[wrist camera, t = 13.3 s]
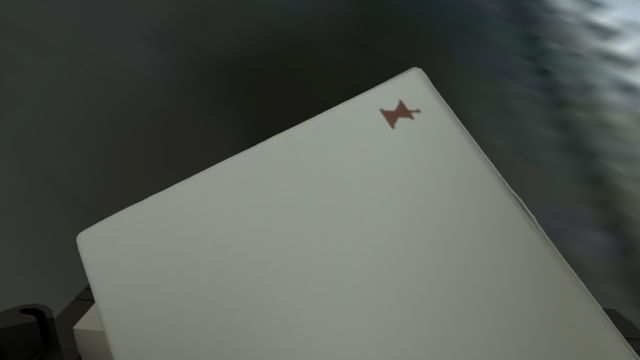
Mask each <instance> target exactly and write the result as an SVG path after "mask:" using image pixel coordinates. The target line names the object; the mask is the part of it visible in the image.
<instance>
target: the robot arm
mask: <svg viewBox="0 0 640 360" xmlns="http://www.w3.org/2000/svg"><path fill="white" fill-rule="evenodd" d="M602 309H603V311H604V312H605V313H606V315H607V316H608V317H609V319H610V320H611V321H612V323H613V324H614V325H615V327H616V328H617V329H618V331H619V332H620V333H621V335H622V336H623V337H624V339H625V340H626V341H627V342H628V344H629V345H630V346H631V347H632V349H633V350H634V351H635V352H636V354H637V355H638V356H639V357H640V331H639V330H638V328H637V327H636V326H635V325H634V323H632V322H631V321H630V320H628V319H627V318H625V317H624V316H623V315H621V314H620V313H619V312H617V311H616V310H615V309H606V308H602ZM0 360H113V358H112V354H111V351H110V348H109V345H108V342H107V339H106V335H105V332H104V329H103V326H102V323H101V320H100V316H99V313H98V310H97V306H96V303H95V300H94V296H93V293H92V290H91V287H90V283H89V284H88V285H87V286H86V287H85V290H82V291H81V292H80V293H79V294H78V295H77V296H76V298H75V301H72V302H71V303H70V304H69V305H68V306H67V307H66V308H65V309H64V310H63V311H62V312H61V313H60V314H59V315H58V316H57V317H56V318H55V319H54V317H53V313H52V310H51V309H49V308H48V307H47V306H45V305H38V304H29V305H20V306H17V307H14V308H10V309H7V310H5V311H3V312H1V313H0Z"/></svg>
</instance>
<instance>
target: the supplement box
mask: <svg viewBox="0 0 640 360" xmlns="http://www.w3.org/2000/svg"><path fill="white" fill-rule="evenodd" d="M76 241H77V245H78V249H79V252H80V255H81V259H82V262H83V265H84V268H85V271H86V274H87V277H88V280H89V283H90V287H91V290H92V293H93V296H94V300H95V303H96V306H97V310H98V313H99V316H100V320H101V323H102V326H103V329H104V332H105V335H106V339H107V342H108V345H109V348H110V351H111V354H112V358H113V360H640V357H639V356H638V355H637V354H636V352H635V351H634V350H633V349H632V347H631V346H630V345H629V344H628V342H627V341H626V340H625V339H624V337H623V336H622V335H621V333H620V332H619V331H618V329H617V328H616V327H615V325H614V324H613V323H612V321H611V320H610V319H609V317H608V316H607V315H606V313H605V312H604V311H603V309H602V308H601V307H600V305H599V304H598V303H597V301H596V300H595V299H594V297H593V296H592V295H591V293H590V292H589V291H588V289H587V288H586V287H585V285H584V284H583V283H582V281H581V280H580V279H579V278H578V276H577V275H576V274H575V272H574V271H573V270H572V268H571V267H570V266H569V264H568V263H567V262H566V261H565V259H564V258H563V257H562V255H561V254H560V253H559V251H558V250H557V249H556V247H555V246H554V245H553V243H552V242H551V241H550V239H549V238H548V236H547V235H546V234H545V232H544V231H543V229H542V228H541V227H540V225H539V224H538V223H537V221H536V219H535V217H534V216H533V215H532V213H531V212H530V211H529V210H528V208H527V207H526V206H525V204H524V203H523V201H522V200H521V199H520V198H519V197H518V196H517V194H516V193H515V192H514V191H513V190H512V189H511V188H510V186H509V185H508V184H507V183H506V181H505V180H504V179H503V177H502V176H501V175H500V173H499V172H498V171H497V169H496V168H495V167H494V165H493V164H492V163H491V161H490V160H489V159H488V158H487V156H486V155H485V154H484V152H483V151H482V150H481V148H480V147H479V146H478V145H477V143H476V142H475V141H474V139H473V138H472V137H471V135H470V134H469V133H468V131H467V130H466V129H465V127H464V126H463V125H462V123H461V122H460V121H459V119H458V118H457V117H456V115H455V114H454V113H453V111H452V110H451V109H450V107H449V106H448V105H447V103H446V102H445V101H444V99H443V98H442V97H441V95H440V94H439V93H438V91H437V90H436V89H435V87H434V86H433V85H432V83H431V81H430V80H429V78H428V77H427V75H426V74H425V73H424V72H423V70H422V69H420V68H417V67H412V68H411V69H409V70H407V71H405V72H403V73H401V74H399V75H397V76H395V77H393V78H391V79H389V80H387V81H386V82H384V83H382V84H380V85H378V86H376V87H374V88H372V89H370V90H368V91H366V92H364V93H362V94H360V95H358V96H356V97H354V98H352V99H350V100H348V101H346V102H344V103H341V104H339V105H337V106H335V107H333V108H331V109H329V110H327V111H325V112H323V113H321V114H319V115H317V116H315V117H313V118H311V119H309V120H307V121H305V122H303V123H301V124H299V125H297V126H295V127H292V128H290V129H288V130H286V131H284V132H282V133H280V134H278V135H275V136H273V137H271V138H269V139H267V140H265V141H263V142H261V143H259V144H257V145H255V146H253V147H251V148H249V149H247V150H245V151H243V152H241V153H239V154H237V155H235V156H233V157H231V158H228V159H226V160H224V161H222V162H220V163H218V164H216V165H214V166H212V167H210V168H208V169H206V170H204V171H202V172H200V173H198V174H196V175H194V176H192V177H190V178H188V179H186V180H184V181H182V182H180V183H178V184H176V185H173V186H171V187H169V188H167V189H165V190H163V191H161V192H159V193H157V194H155V195H152V196H150V197H149V198H147V199H145V200H143V201H141V202H139V203H136V204H134V205H132V206H130V207H128V208H126V209H124V210H122V211H120V212H118V213H116V214H114V215H112V216H110V217H108V218H106V219H104V220H102V221H100V222H99V223H97V224H95V225H93V226H91V227H89V228H88V229H86V230H84V231H82V232H81V233H80V234H79V235H78V237H77V239H76Z"/></svg>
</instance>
